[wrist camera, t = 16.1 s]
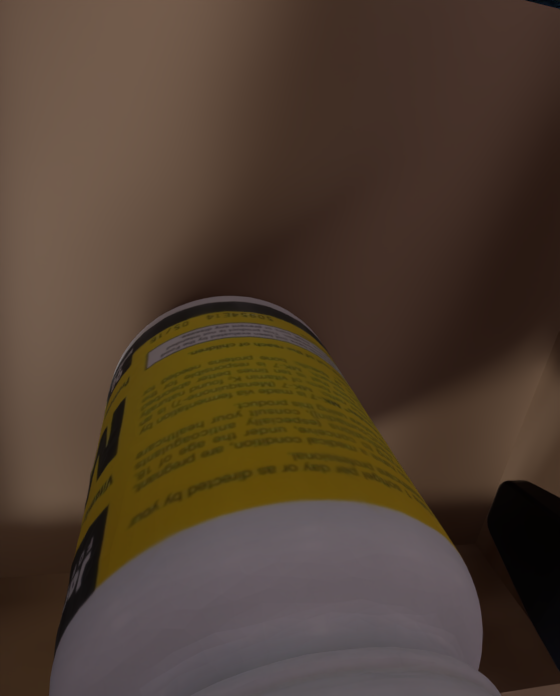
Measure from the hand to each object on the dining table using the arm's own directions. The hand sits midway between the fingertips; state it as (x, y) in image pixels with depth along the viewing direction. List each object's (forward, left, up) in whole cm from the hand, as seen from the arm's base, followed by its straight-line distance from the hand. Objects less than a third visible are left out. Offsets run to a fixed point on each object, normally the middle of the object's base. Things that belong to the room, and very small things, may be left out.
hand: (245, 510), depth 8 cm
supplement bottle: (0, 0, -4) cm, 4 cm away
